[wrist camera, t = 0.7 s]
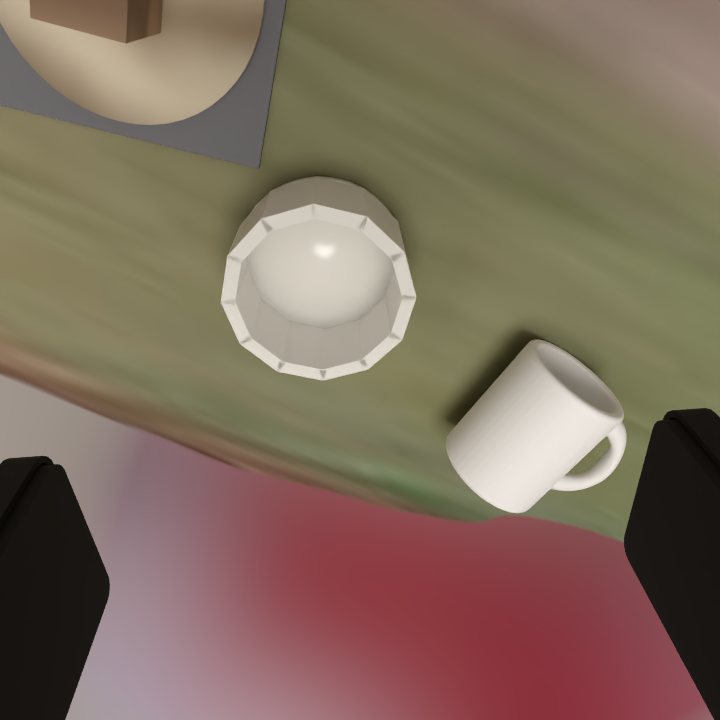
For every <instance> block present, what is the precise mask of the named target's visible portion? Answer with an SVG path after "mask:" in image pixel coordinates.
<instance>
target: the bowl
mask: <svg viewBox="0 0 720 720" xmlns="http://www.w3.org/2000/svg"><path fill="white" fill-rule="evenodd" d="M415 300H416V293H415V289H414V284H413V280H412V276H411V271H410V267H409V263H408V260H407V256H406V252H405V248H404V244H403V240H402V236H401V232H400V228H399V224H398V220H396V219H395V218H394V217H393V216H392V214H391V213H390V211H389V210H388V208H387V207H386V206H385V205H384V204H383V203H382V202H381V201H380V200H379V199H378V198H377V197H376V196H374V195H373V194H372V193H371V192H369V191H368V190H366V189H365V188H363V187H361V186H359V185H357V184H355V183H352V182H350V181H346V180H343V179H340V178H334V177H326V176H314V177H304V178H300V179H296V180H293V181H290V182H287V183H284V184H282V185H281V186H279V187H277V188H275V189H273V190H271V191H270V192H269V193H268V194H267V195H265V196H264V197H263V198H262V199H261V200H260V201H259V202H258V203H257V204H256V206H255V207H254V208H253V209H252V211H251V212H250V214H249V215H248V216H247V218H246V219H245V220H244V221H243V222H242V223H241V225H240V227H239V229H238V232H237V234H236V237H235V239H234V241H233V244H232V246H231V248H230V251H229V253H228V256H227V263H226V270H225V277H224V284H223V291H222V297H221V304H222V306H223V308H224V310H225V312H226V314H227V317H228V319H229V321H230V323H231V325H232V328H233V330H234V332H235V334H236V336H237V339H238V341H239V343H240V344H241V345H242V346H244V347H245V348H246V349H248V350H249V351H250V352H252V353H253V354H254V355H256V356H257V357H258V358H260V359H261V360H262V361H264V362H265V363H266V364H268V365H269V366H270V367H272V368H273V369H275V370H276V371H277V372H282V373H287V374H292V375H298V376H303V377H308V378H313V379H318V380H323V381H324V380H327V379H331V378H335V377H339V376H343V375H348V374H352V373H356V372H360V371H364V370H368V369H369V368H370V367H371V366H373V365H374V364H375V363H376V362H377V361H378V360H380V359H381V358H382V357H383V356H384V355H385V354H387V353H388V352H389V351H390V350H391V349H392V348H393V347H395V346H396V345H397V344H398V343H399V342H400V341H402V339H403V336H404V333H405V330H406V327H407V324H408V321H409V318H410V315H411V312H412V309H413V306H414V303H415Z"/></svg>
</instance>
